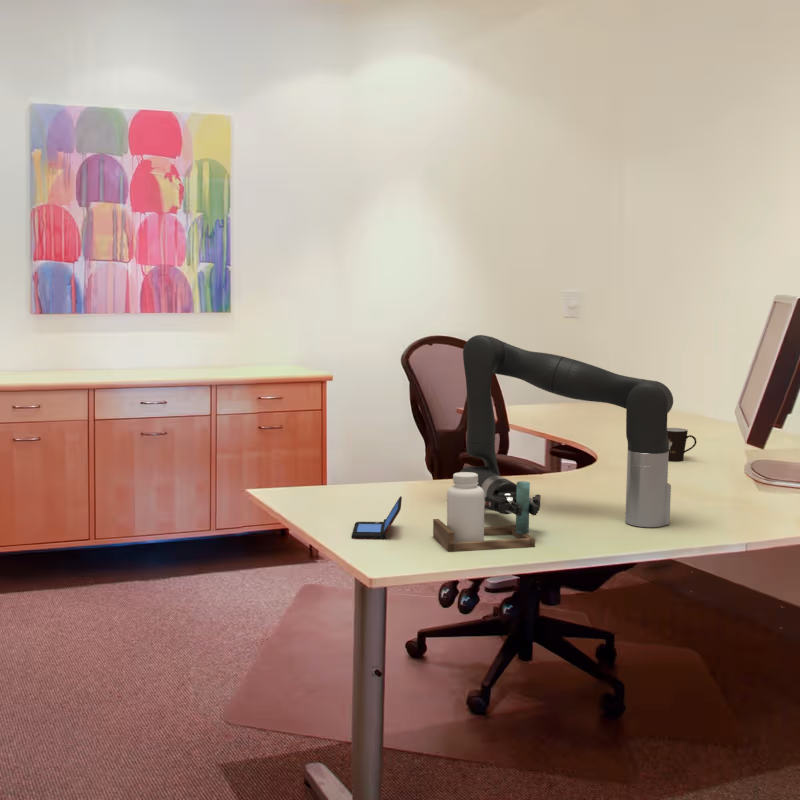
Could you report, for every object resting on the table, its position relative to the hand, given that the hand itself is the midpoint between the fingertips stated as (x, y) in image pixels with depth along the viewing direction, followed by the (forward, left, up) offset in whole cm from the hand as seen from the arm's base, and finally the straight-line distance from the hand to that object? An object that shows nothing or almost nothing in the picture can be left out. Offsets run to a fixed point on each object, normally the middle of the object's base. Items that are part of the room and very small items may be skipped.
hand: (527, 511), depth 202 cm
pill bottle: (+13, -3, -7) cm, 15 cm away
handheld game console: (+29, -16, -8) cm, 34 cm away
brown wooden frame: (+9, -3, -7) cm, 12 cm away
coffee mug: (-84, -86, -7) cm, 120 cm away
